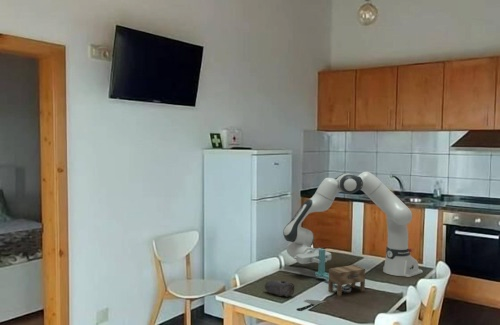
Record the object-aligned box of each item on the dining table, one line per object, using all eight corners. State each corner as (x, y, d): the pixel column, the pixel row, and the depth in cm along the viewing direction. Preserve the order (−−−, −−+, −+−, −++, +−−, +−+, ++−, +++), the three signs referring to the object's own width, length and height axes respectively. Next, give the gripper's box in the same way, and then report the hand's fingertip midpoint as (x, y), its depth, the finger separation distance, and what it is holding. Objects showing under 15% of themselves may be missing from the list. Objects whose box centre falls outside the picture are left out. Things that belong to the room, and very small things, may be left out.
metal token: (347, 289, 227) (347, 286, 227) (352, 292, 223) (353, 289, 223) (340, 290, 225) (340, 287, 225) (345, 293, 221) (345, 290, 221)
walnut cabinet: (353, 286, 232) (354, 264, 231) (365, 291, 224) (366, 269, 223) (328, 290, 224) (329, 268, 223) (340, 296, 216) (340, 273, 216)
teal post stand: (313, 275, 242) (314, 249, 241) (324, 273, 245) (324, 247, 244) (333, 284, 228) (334, 256, 227) (344, 282, 231) (345, 254, 230)
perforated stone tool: (262, 293, 219) (262, 278, 218) (267, 290, 223) (268, 276, 223) (289, 299, 211) (290, 284, 210) (295, 296, 215) (295, 282, 215)
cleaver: (283, 306, 203) (301, 312, 196) (283, 305, 203) (301, 311, 196) (324, 292, 223) (341, 297, 216) (324, 291, 223) (341, 296, 216)
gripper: (291, 251, 247) (306, 257, 235) (321, 247, 257) (338, 253, 245) (291, 262, 247) (306, 269, 235) (321, 258, 257) (337, 264, 245)
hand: (322, 261), depth 240 cm, fingers closed on teal post stand, 2 cm apart
